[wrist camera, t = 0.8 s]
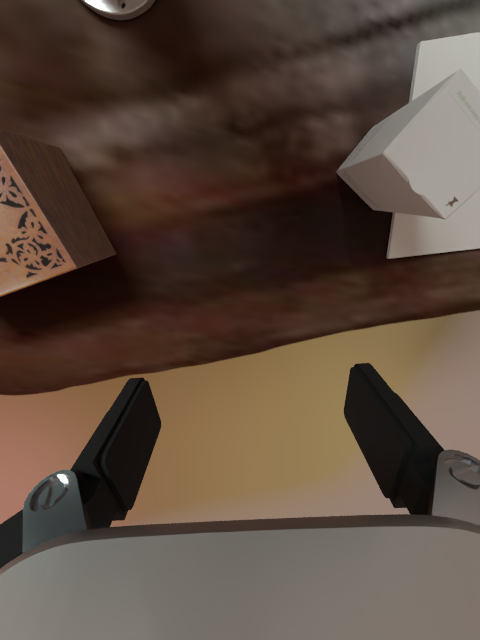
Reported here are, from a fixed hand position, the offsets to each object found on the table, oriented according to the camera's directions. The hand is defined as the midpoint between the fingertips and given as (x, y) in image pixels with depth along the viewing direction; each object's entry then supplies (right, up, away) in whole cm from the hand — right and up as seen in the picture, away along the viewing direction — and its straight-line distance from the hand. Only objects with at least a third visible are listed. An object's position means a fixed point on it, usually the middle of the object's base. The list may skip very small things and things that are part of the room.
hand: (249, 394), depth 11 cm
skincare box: (+17, +24, +21) cm, 36 cm away
